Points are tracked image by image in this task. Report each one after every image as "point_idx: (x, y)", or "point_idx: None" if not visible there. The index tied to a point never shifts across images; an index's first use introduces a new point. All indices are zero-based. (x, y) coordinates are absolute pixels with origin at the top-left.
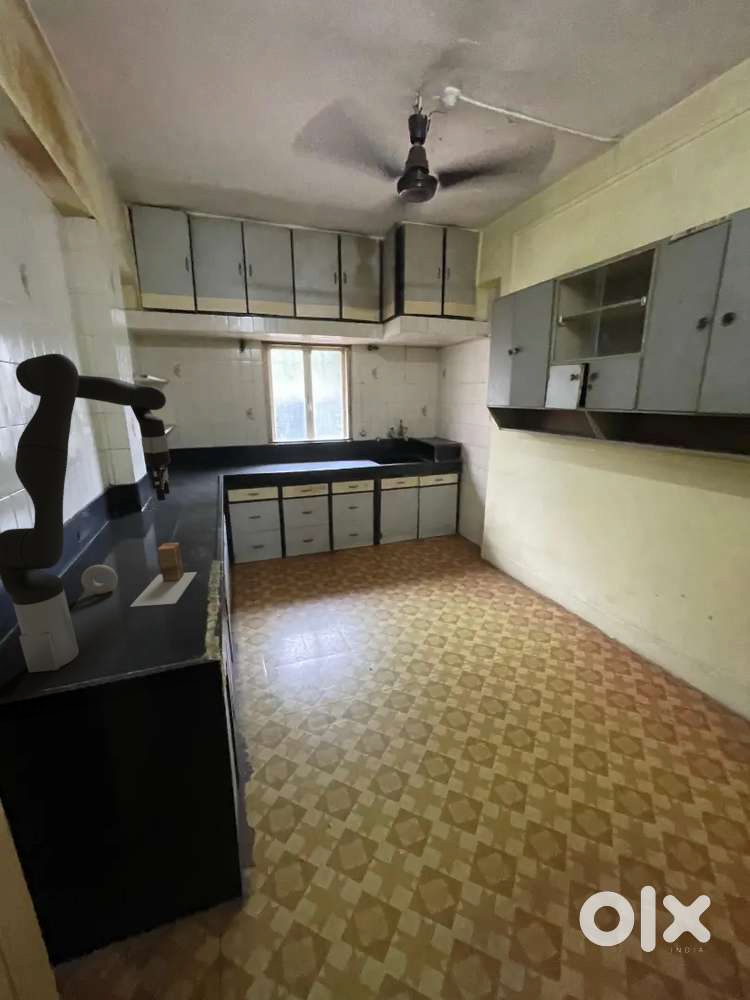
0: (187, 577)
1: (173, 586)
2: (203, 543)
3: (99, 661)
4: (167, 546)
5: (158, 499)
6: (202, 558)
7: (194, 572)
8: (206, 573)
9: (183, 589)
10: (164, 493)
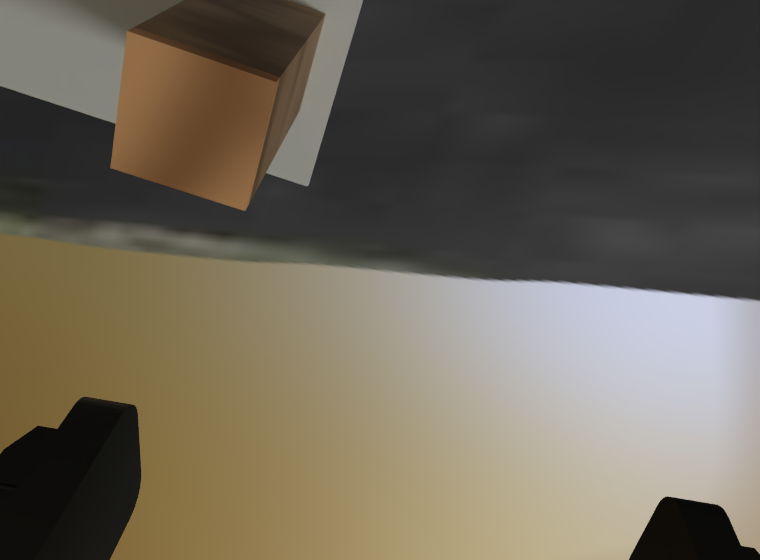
0: None
1: None
2: None
3: None
4: (166, 116)
5: (80, 416)
6: (549, 227)
7: (306, 171)
8: (286, 228)
9: (72, 100)
10: (655, 522)
